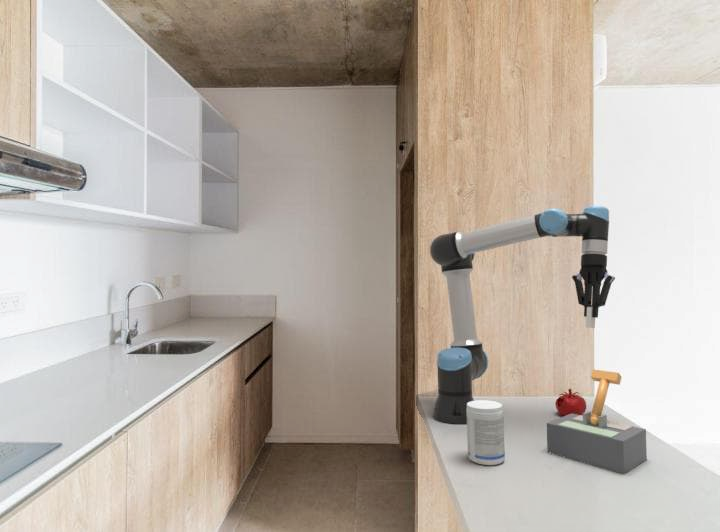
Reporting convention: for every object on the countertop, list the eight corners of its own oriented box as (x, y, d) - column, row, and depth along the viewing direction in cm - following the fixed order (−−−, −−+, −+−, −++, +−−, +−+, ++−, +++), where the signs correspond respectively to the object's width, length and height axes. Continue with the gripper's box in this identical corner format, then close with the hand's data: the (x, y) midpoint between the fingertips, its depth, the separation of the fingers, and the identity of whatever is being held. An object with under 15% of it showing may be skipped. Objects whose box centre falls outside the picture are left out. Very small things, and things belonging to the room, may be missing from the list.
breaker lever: (579, 419, 130) (592, 368, 136) (582, 423, 132) (596, 372, 138) (605, 425, 125) (618, 372, 131) (608, 429, 126) (621, 376, 132)
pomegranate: (588, 413, 168) (587, 387, 168) (584, 421, 160) (583, 393, 160) (558, 410, 173) (557, 384, 174) (553, 416, 165) (552, 389, 165)
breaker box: (547, 452, 132) (546, 411, 132) (572, 440, 141) (571, 402, 141) (624, 474, 116) (622, 428, 117) (646, 459, 125) (645, 416, 125)
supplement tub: (512, 461, 126) (511, 405, 126) (487, 469, 120) (486, 411, 121) (484, 450, 134) (483, 397, 134) (460, 457, 129) (458, 403, 129)
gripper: (620, 255, 151) (616, 330, 149) (580, 256, 161) (576, 326, 159) (609, 252, 146) (605, 329, 144) (568, 253, 157) (564, 325, 155)
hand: (590, 327), depth 152 cm, fingers closed
